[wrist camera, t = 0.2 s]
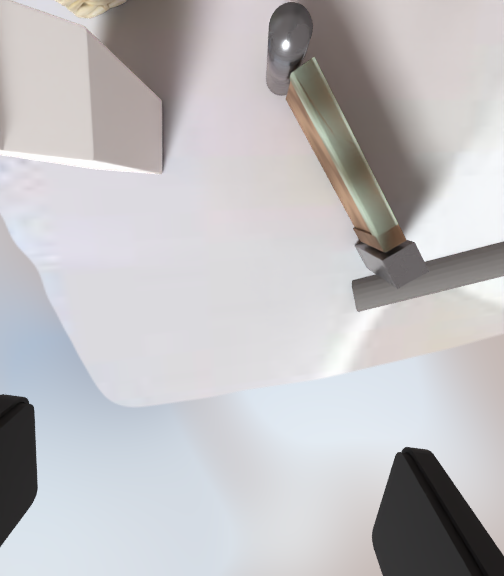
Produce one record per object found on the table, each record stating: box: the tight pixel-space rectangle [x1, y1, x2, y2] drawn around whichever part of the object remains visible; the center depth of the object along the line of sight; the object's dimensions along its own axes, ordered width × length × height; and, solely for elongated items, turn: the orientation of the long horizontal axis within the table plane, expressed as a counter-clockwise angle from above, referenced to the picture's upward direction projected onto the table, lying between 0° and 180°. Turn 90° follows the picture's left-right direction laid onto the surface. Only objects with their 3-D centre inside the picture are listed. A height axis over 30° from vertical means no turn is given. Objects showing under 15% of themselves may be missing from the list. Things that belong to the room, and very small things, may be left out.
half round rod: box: [352, 242, 504, 312], centre depth 37 cm, size 4×20×2 cm, turn 106°
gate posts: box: [266, 2, 429, 289], centre depth 29 cm, size 3×23×10 cm, turn 32°
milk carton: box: [0, 0, 162, 174], centre depth 25 cm, size 7×7×19 cm
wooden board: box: [286, 57, 406, 253], centre depth 30 cm, size 16×2×7 cm, turn 32°
